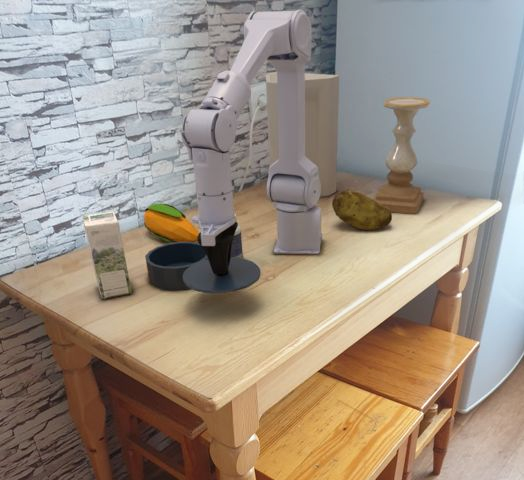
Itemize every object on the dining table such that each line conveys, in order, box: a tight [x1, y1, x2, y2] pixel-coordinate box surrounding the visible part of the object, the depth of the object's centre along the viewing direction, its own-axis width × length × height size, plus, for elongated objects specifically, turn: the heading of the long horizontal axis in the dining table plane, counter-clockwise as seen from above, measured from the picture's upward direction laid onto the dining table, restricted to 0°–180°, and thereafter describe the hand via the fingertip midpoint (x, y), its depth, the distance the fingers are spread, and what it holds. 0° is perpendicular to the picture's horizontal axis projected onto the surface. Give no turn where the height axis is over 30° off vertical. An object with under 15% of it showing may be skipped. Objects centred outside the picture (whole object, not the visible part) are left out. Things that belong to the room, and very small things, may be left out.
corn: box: [143, 202, 200, 243], centre depth 124 cm, size 7×8×20 cm
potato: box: [331, 189, 393, 231], centre depth 126 cm, size 8×13×8 cm, turn 58°
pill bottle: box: [231, 213, 244, 259], centre depth 113 cm, size 5×5×10 cm
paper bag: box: [265, 71, 340, 198], centre depth 143 cm, size 19×15×28 cm
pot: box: [144, 241, 208, 291], centre depth 110 cm, size 12×12×5 cm
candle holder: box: [372, 96, 431, 215], centre depth 133 cm, size 11×11×24 cm
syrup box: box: [82, 210, 133, 300], centre depth 103 cm, size 6×6×14 cm
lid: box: [183, 257, 262, 295], centre depth 96 cm, size 13×13×5 cm
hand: (221, 269), depth 96 cm, fingers closed on lid, 2 cm apart
